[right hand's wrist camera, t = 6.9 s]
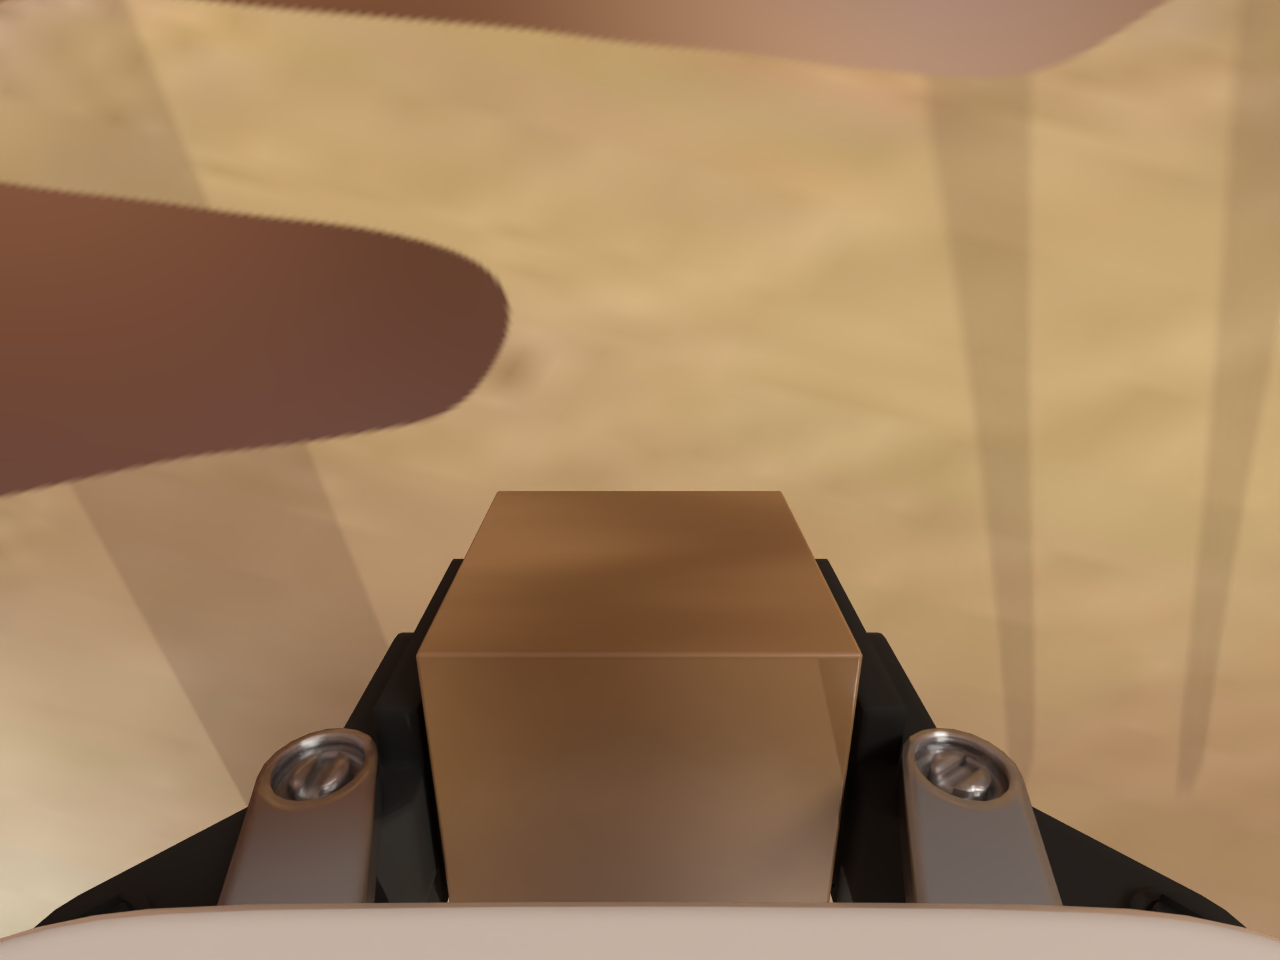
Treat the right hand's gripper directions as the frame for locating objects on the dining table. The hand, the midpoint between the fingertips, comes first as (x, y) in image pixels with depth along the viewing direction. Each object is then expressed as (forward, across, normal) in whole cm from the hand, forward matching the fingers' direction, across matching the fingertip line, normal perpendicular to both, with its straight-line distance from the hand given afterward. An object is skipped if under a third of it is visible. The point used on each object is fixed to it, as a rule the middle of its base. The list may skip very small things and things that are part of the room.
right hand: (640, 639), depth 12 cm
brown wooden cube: (0, 0, 0) cm, 0 cm away
